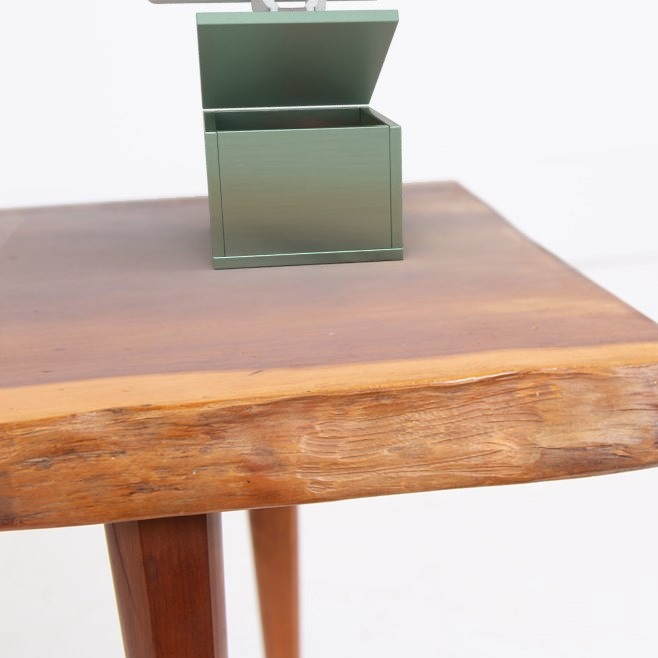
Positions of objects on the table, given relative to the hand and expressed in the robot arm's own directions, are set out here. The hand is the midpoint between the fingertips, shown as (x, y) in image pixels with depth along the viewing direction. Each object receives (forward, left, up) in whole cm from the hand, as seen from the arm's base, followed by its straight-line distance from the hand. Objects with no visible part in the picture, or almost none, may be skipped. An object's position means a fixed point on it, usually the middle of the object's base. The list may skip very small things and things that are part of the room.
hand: (294, 37), depth 75 cm
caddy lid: (-2, +1, -2) cm, 3 cm away
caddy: (-2, +1, -14) cm, 14 cm away
